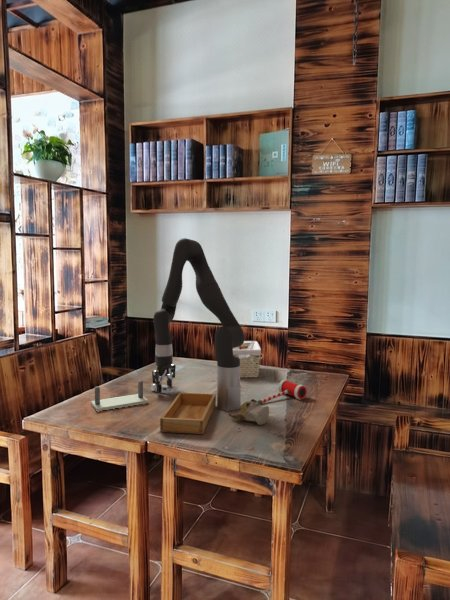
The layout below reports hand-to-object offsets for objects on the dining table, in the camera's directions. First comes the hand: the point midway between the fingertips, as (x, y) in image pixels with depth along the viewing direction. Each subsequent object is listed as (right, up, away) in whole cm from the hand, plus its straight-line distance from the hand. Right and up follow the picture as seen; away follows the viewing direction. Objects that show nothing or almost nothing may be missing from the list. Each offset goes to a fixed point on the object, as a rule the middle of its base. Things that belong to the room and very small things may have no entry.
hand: (164, 390), depth 204 cm
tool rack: (-16, -3, -16) cm, 23 cm away
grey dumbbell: (0, -1, 0) cm, 1 cm away
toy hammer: (+52, -3, -8) cm, 53 cm away
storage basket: (+37, +2, +34) cm, 50 cm away
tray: (+14, -5, -31) cm, 34 cm away
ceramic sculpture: (+37, -5, -34) cm, 50 cm away
